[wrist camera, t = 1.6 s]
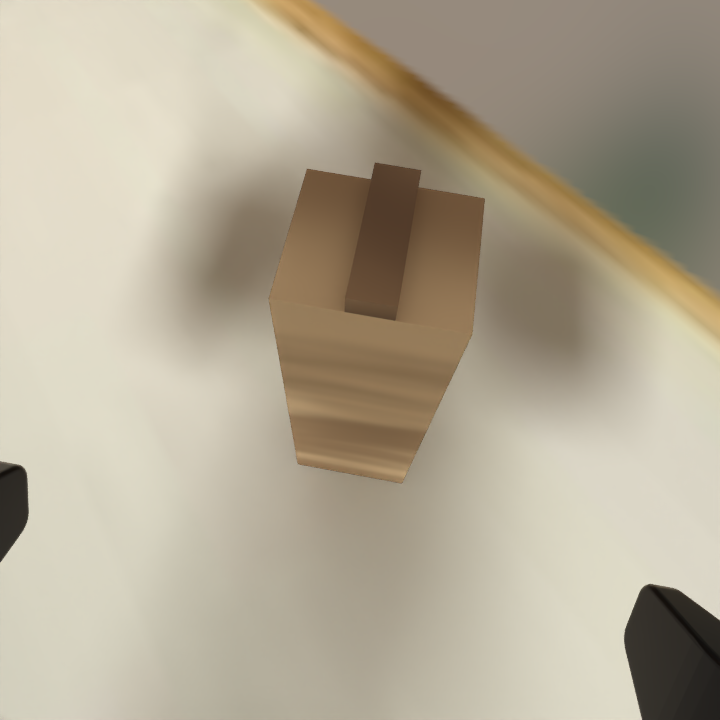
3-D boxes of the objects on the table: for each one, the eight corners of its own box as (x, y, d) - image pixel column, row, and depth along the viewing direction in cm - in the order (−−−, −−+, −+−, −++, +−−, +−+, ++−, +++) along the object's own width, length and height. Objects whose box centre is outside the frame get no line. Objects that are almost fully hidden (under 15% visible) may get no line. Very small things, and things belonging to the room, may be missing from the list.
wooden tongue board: (401, 483, 21) (478, 320, 10) (297, 463, 21) (265, 283, 10) (413, 398, 22) (490, 181, 12) (316, 381, 23) (306, 151, 12)
